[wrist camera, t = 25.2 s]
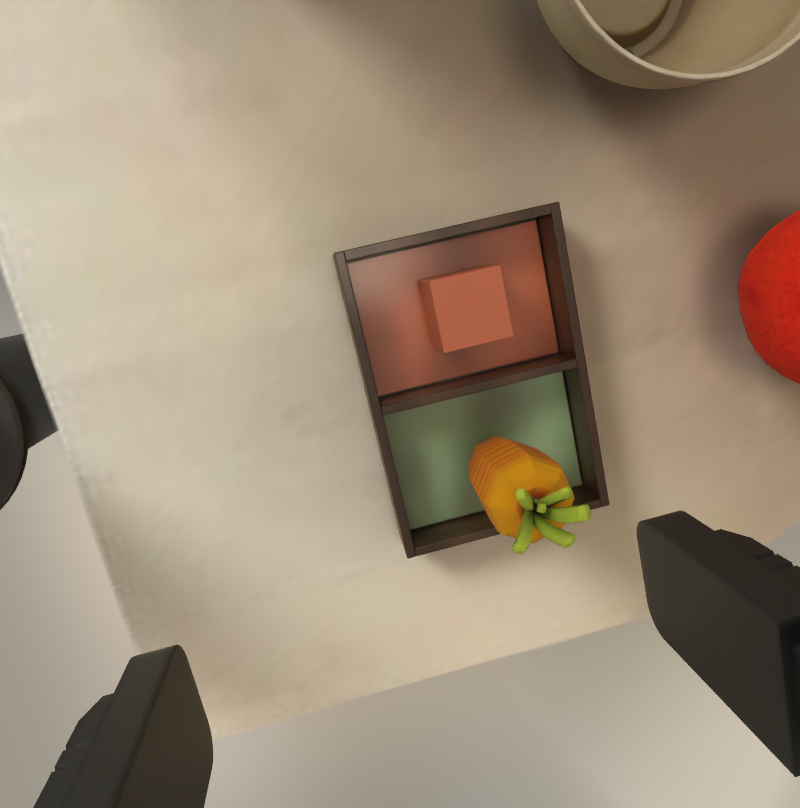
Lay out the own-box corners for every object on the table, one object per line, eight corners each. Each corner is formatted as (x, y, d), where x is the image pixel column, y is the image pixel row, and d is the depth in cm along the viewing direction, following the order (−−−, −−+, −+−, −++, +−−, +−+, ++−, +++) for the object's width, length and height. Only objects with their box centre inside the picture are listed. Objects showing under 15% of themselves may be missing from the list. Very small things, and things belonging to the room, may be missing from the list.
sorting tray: (400, 537, 48) (407, 558, 44) (332, 254, 43) (333, 253, 40) (588, 488, 49) (609, 505, 45) (540, 207, 44) (559, 201, 41)
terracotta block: (432, 346, 44) (444, 353, 40) (418, 280, 43) (428, 281, 40) (496, 331, 45) (514, 336, 41) (484, 265, 44) (500, 264, 40)
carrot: (449, 488, 46) (510, 587, 32) (446, 417, 45) (507, 487, 31) (519, 481, 47) (611, 576, 32) (517, 411, 46) (612, 477, 31)
